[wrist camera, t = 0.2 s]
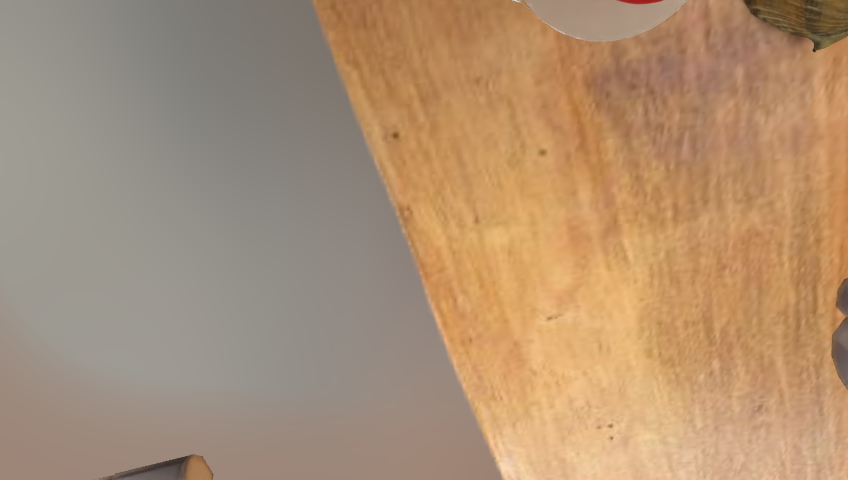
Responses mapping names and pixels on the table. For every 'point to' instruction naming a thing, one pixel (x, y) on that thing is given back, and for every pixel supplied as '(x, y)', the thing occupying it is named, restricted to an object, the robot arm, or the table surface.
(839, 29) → the seashell
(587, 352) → the table surface
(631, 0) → the strawberry
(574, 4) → the stand
